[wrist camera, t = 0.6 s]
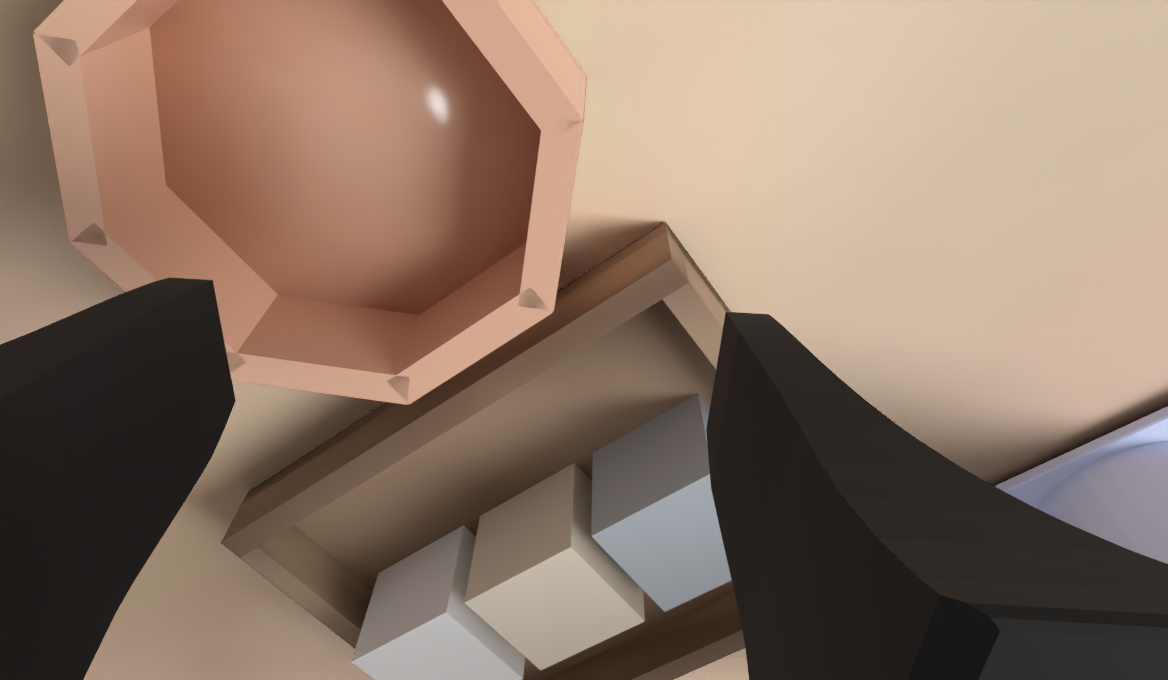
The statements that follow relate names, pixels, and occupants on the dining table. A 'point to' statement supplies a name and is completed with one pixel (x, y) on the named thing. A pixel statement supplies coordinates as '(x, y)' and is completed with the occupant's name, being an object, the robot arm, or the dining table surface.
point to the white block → (432, 621)
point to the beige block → (550, 573)
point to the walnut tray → (507, 457)
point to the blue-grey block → (661, 506)
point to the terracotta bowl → (323, 173)
